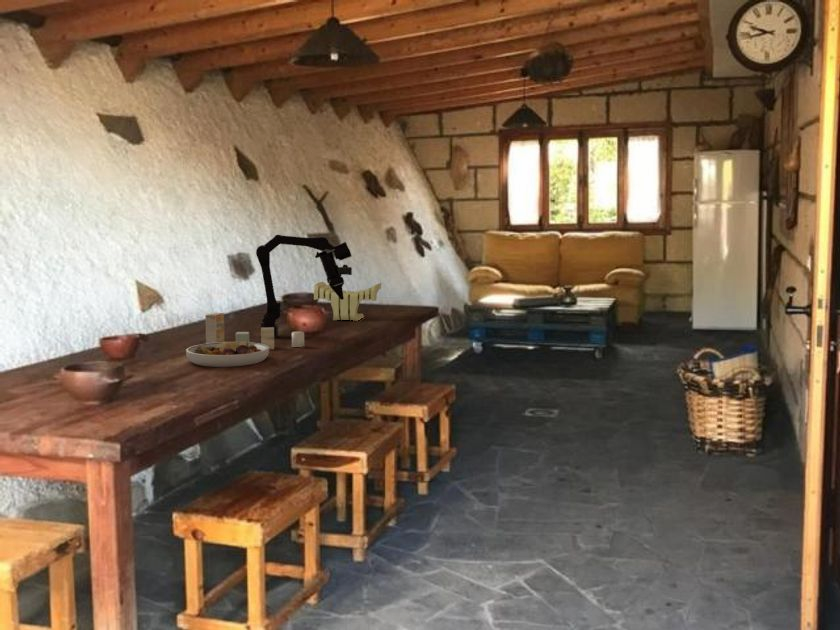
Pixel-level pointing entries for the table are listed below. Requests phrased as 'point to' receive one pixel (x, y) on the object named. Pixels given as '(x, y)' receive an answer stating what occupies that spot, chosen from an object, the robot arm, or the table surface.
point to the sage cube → (242, 336)
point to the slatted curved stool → (345, 300)
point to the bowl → (227, 354)
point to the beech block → (267, 337)
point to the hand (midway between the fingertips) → (341, 298)
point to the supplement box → (214, 327)
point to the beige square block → (297, 339)
